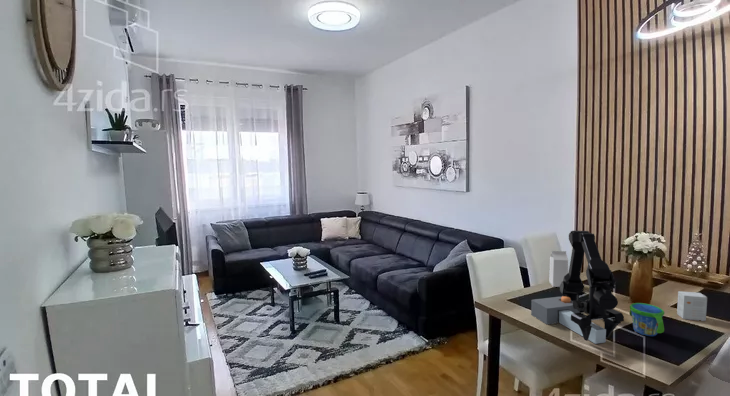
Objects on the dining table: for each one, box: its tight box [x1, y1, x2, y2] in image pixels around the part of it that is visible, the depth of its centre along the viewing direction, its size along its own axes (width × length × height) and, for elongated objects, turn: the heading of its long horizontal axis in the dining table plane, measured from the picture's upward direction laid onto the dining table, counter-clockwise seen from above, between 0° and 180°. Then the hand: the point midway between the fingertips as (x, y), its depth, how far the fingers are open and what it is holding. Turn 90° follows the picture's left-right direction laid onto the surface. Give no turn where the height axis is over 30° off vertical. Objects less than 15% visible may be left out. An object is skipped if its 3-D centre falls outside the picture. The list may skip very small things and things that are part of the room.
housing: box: [530, 295, 581, 325], centre depth 159 cm, size 16×10×7 cm, turn 102°
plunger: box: [561, 295, 571, 303], centre depth 160 cm, size 4×4×3 cm
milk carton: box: [548, 250, 569, 288], centre depth 199 cm, size 7×7×19 cm
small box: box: [676, 290, 708, 322], centre depth 156 cm, size 8×6×10 cm
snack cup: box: [629, 302, 665, 337], centre depth 144 cm, size 16×10×10 cm
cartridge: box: [558, 310, 607, 345], centre depth 145 cm, size 4×19×5 cm, turn 12°
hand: (596, 338), depth 138 cm, fingers open, 9 cm apart
